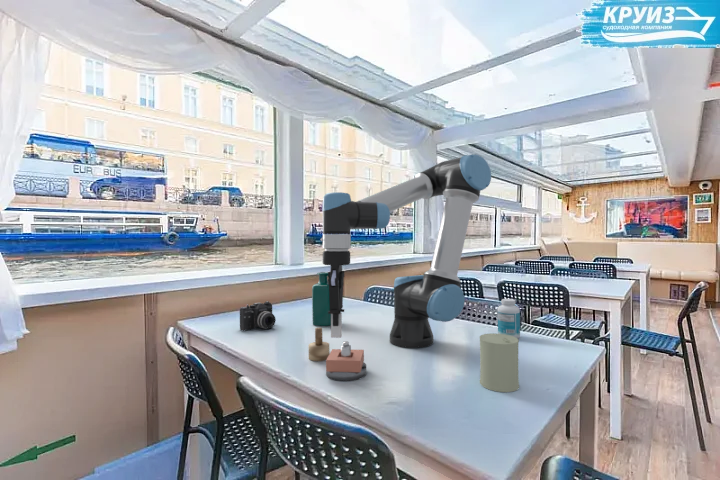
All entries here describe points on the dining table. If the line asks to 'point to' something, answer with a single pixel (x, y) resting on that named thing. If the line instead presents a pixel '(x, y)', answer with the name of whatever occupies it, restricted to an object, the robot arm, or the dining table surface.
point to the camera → (257, 316)
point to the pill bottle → (509, 318)
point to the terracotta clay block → (345, 361)
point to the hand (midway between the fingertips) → (336, 336)
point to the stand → (318, 347)
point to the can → (499, 362)
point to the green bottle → (321, 301)
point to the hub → (347, 375)
